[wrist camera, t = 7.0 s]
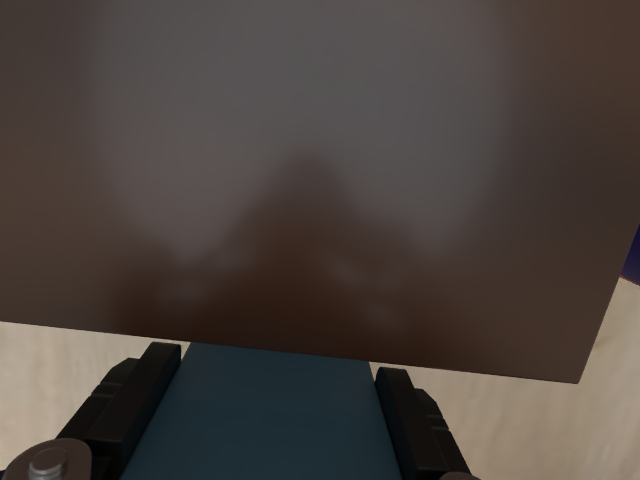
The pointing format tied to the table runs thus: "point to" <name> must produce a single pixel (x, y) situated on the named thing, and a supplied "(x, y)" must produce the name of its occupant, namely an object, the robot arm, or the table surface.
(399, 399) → the robot arm
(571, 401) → the table surface
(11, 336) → the table surface
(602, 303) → the desk
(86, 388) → the table surface
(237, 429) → the chair
